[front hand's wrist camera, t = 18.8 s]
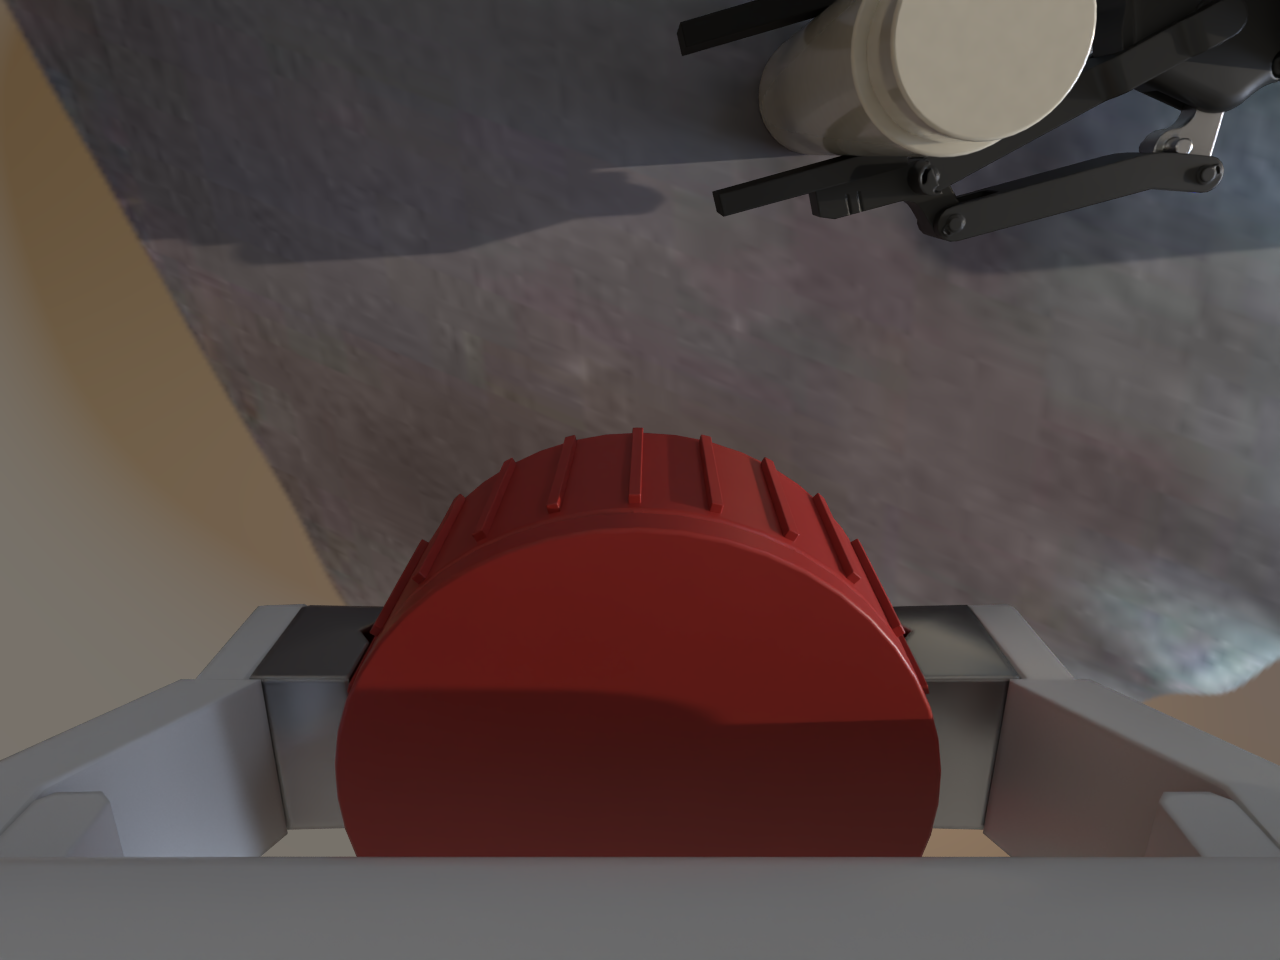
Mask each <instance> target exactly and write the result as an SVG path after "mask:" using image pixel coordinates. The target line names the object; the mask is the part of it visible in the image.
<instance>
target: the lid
mask: <svg viewBox="0 0 1280 960" xmlns="http://www.w3.org/2000/svg"><path fill="white" fill-rule="evenodd" d="M370 634H372V635H374V636H375V637H374V639H373V641H372V643H371V644H370V646H369V648H368V650H367V652H366V654H365V655H364V657H363V659H362V661H361V663H360V665H359V666H358V668H357V670H356V672H355V674H354V675H353V677H352V679H351V681H350V683H349V685H348V690H347V692H348V693H349V694H348V696H347V699H346V701H345V705H344V709H343V713H342V717H341V720H340V724H339V728H338V732H337V744H336V755H335V773H336V786H337V798H338V802H339V806H340V810H341V814H342V818H343V822H344V826H345V830H346V832H347V834H348V837H349V839H350V842H351V844H352V846H353V849H354V851H355V854H356V856H357V857H922V855H923V852H924V850H925V848H926V845H927V843H928V841H929V838H930V836H931V832H932V828H933V824H934V820H935V816H936V812H937V808H938V804H939V793H940V781H941V761H940V749H939V738H938V734H937V731H936V727H935V723H934V719H933V715H932V711H931V707H930V705H929V702H928V700H927V698H926V694H929V689H928V685H927V683H926V681H925V679H924V677H923V675H922V673H921V671H920V669H919V667H918V665H917V663H916V660H915V658H914V656H913V654H912V652H911V650H910V648H909V646H908V644H907V642H906V640H905V638H904V636H903V634H905V631H904V629H903V627H902V625H901V623H900V621H899V619H898V617H897V615H896V613H895V611H894V609H893V607H892V605H891V603H890V601H889V599H888V597H887V595H886V593H885V591H884V589H883V587H882V585H881V583H880V581H879V579H878V577H877V575H876V573H875V571H874V569H873V567H872V565H871V563H870V561H869V559H868V557H867V555H866V553H865V551H864V549H863V547H862V545H861V543H860V542H859V540H858V539H856V540H854V541H852V542H850V540H849V539H848V537H847V535H846V534H845V532H844V531H843V529H842V528H841V527H840V525H839V524H838V523H837V522H836V521H835V520H834V518H833V516H832V514H831V512H830V510H829V508H828V506H827V503H826V501H825V499H824V498H823V497H822V496H821V495H820V494H819V493H817V494H816V495H815V496H814V497H812V496H811V495H810V494H809V493H807V492H806V491H805V490H804V489H803V488H802V487H801V486H799V485H798V484H797V483H795V482H794V481H792V480H791V479H789V478H788V477H786V476H785V475H783V474H782V473H780V472H778V471H777V470H776V469H775V466H774V463H773V461H771V460H770V459H768V458H766V457H764V459H763V460H762V462H760V461H758V460H756V459H754V458H752V457H750V456H748V455H746V454H744V453H742V452H739V451H736V450H733V449H730V448H727V447H724V446H721V445H718V444H714V443H712V441H711V437H709V436H705V435H701V437H700V440H698V439H693V438H688V437H682V436H677V435H667V434H652V433H643V428H633V431H632V433H627V434H609V435H602V436H596V437H591V438H585V439H580V440H576V437H575V435H572V436H568V437H565V440H564V444H561V445H558V446H555V447H551V448H548V449H545V450H542V451H539V452H537V453H535V454H533V455H531V456H529V457H526V458H524V459H522V460H520V461H518V462H516V463H515V461H514V460H513V458H511V459H509V460H507V461H505V462H504V463H503V466H502V468H501V470H500V472H499V473H497V474H496V475H494V476H493V477H491V478H489V479H488V480H486V481H485V482H483V483H482V484H481V485H480V486H479V487H477V488H476V489H475V490H474V491H473V492H472V493H470V494H469V495H468V496H467V497H466V498H465V497H464V496H462V495H461V494H459V495H458V496H457V497H456V498H455V499H454V500H453V502H452V504H451V506H450V508H449V510H448V511H447V513H446V515H445V517H444V519H443V521H442V523H441V524H440V526H439V528H438V529H437V531H436V532H435V534H434V535H433V537H432V539H431V540H430V542H429V543H428V542H426V541H425V540H421V542H420V543H419V545H418V547H417V549H416V550H415V552H414V554H413V556H412V557H411V559H410V561H409V563H408V565H407V566H406V568H405V570H404V572H403V573H402V575H401V577H400V579H399V581H398V582H397V584H396V586H395V588H394V589H393V591H392V593H391V595H390V597H389V598H388V600H387V602H386V604H385V605H384V607H383V609H382V611H381V613H380V614H379V616H378V618H377V620H376V621H375V623H374V625H373V627H372V629H371V630H370Z"/></svg>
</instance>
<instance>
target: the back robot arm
mask: <svg viewBox="0 0 1280 960" xmlns="http://www.w3.org/2000/svg"><path fill="white" fill-rule="evenodd" d="M835 1H836V0H755V1H752V2H748V3H745V4H742V5H738V6H735V7H731V8H728V9H725V10H721V11H718V12H714V13H711V14H708V15H704V16H701V17H697V18H694V19H691V20H687V21H684V22H680V25H679V29H678V32H677V36H678V40H679V45H680V49H681V54H682V56H684V55H687V54H691V53H694V52H698V51H701V50H704V49H708V48H711V47H715V46H718V45H722V44H725V43H729V42H732V41H735V40H739V39H742V38H746V37H749V36H753V35H756V34H759V33H763V32H766V31H770V30H773V29H777V28H780V27H784V26H787V25H790V24H794V23H797V22H801V21H804V20H808V19H811V18H814V17H816V16H818V15H819V14H820V13H821V12H823V11H824V10H825V9H826V8H828V7H829V6H830V5H831V4H833V3H834V2H835ZM1096 5H1097V11H1096V27H1095V34H1094V39H1093V43H1092V47H1093V53H1092V54H1090V55H1089V56H1088V59H1087V61H1086V64H1085V66H1084V68H1083V70H1082V72H1081V74H1080V76H1079V78H1078V80H1077V81H1076V83H1075V84H1074V86H1073V87H1072V89H1071V90H1070V92H1069V93H1068V94H1067V95H1066V97H1065V98H1064V99H1063V100H1062V102H1061V103H1060V104H1059V105H1058V106H1057V107H1056V108H1055V109H1054V110H1053V111H1052V112H1051V113H1050V114H1048V115H1047V116H1046V117H1044V118H1043V119H1042V120H1041V121H1039V122H1038V123H1036V124H1035V125H1033V126H1031V127H1030V128H1028V129H1026V130H1024V131H1022V132H1020V133H1018V134H1015V135H1013V136H1010V137H1006V138H1003V139H1001V140H1000V141H998V142H997V143H995V144H993V145H991V146H989V147H987V148H985V149H982V150H980V151H977V152H974V153H971V154H967V155H962V156H956V157H908V158H907V157H894V156H844V155H843V156H839V157H836V158H832V159H829V160H825V161H821V162H818V163H814V164H810V165H807V166H803V167H800V168H796V169H792V170H789V171H785V172H782V173H778V174H774V175H771V176H767V177H764V178H760V179H756V180H753V181H749V182H745V183H742V184H738V185H735V186H731V187H727V188H724V189H720V190H717V191H713V197H714V201H715V206H716V210H717V212H718V213H719V214H721V215H722V216H723V217H724V216H728V215H731V214H735V213H739V212H742V211H746V210H749V209H753V208H757V207H760V206H764V205H768V204H771V203H775V202H779V201H782V200H786V199H790V198H793V197H797V196H801V195H804V194H808V193H809V198H810V203H811V209H812V214H813V215H815V216H818V217H823V218H831V219H837V218H841V217H844V216H848V215H851V214H855V213H859V212H862V211H866V210H870V209H874V208H878V207H881V206H885V205H889V204H892V203H896V202H900V201H904V202H905V203H907V204H908V205H909V207H910V208H911V209H912V211H913V213H914V215H915V217H916V218H917V225H918V227H919V230H920V231H921V232H922V233H923V234H926V235H929V236H932V237H936V238H939V239H943V240H947V241H950V242H951V241H959V240H963V239H967V238H970V237H974V236H978V235H982V234H985V233H989V232H993V231H996V230H1000V229H1004V228H1008V227H1011V226H1015V225H1019V224H1023V223H1026V222H1030V221H1034V220H1037V219H1041V218H1045V217H1049V216H1052V215H1056V214H1060V213H1064V212H1067V211H1071V210H1075V209H1078V208H1082V207H1086V206H1090V205H1093V204H1097V203H1101V202H1105V201H1108V200H1112V199H1116V198H1119V197H1123V196H1127V195H1131V194H1134V193H1138V192H1142V191H1146V190H1149V189H1156V190H1168V191H1183V192H1198V193H1202V192H1208V191H1210V190H1212V189H1214V188H1215V187H1216V186H1217V185H1218V184H1219V183H1220V181H1221V179H1222V177H1223V171H1224V168H1223V165H1222V162H1221V161H1220V160H1219V159H1218V158H1216V157H1213V156H1211V155H1212V152H1213V148H1214V145H1215V141H1216V138H1217V135H1218V131H1219V128H1220V125H1221V121H1222V118H1223V115H1224V112H1226V111H1229V110H1231V109H1233V108H1235V107H1237V106H1238V105H1240V104H1241V103H1243V102H1244V101H1245V100H1246V99H1247V98H1248V97H1249V96H1251V95H1252V94H1253V93H1254V92H1256V91H1257V90H1259V89H1260V88H1262V87H1264V86H1266V85H1268V84H1270V83H1273V82H1277V81H1280V0H1096ZM1133 89H1135V90H1137V91H1139V92H1141V93H1143V94H1146V95H1148V96H1150V97H1152V98H1154V99H1157V100H1159V101H1161V102H1163V103H1165V104H1168V105H1170V106H1172V107H1174V108H1176V109H1178V110H1181V113H1180V116H1179V118H1178V119H1177V121H1176V122H1175V123H1174V124H1173V125H1171V126H1170V127H1168V128H1166V129H1161V130H1156V131H1154V132H1152V133H1150V134H1149V135H1148V136H1147V137H1146V138H1145V140H1144V141H1143V142H1142V143H1141V144H1140V146H1139V152H1140V153H1118V154H1111V155H1107V156H1102V157H1098V158H1095V159H1091V160H1087V161H1084V162H1080V163H1076V164H1073V165H1069V166H1065V167H1062V168H1058V169H1054V170H1051V171H1047V172H1043V173H1040V174H1036V175H1032V176H1029V177H1025V178H1021V179H1018V180H1014V181H1010V182H1007V183H1003V184H999V185H996V186H992V187H988V188H985V189H981V190H977V191H974V192H970V193H966V194H963V195H959V196H955V194H954V192H953V190H952V188H951V186H950V185H951V184H953V183H955V182H957V181H959V180H961V179H963V178H964V177H966V176H968V175H970V174H972V173H974V172H975V171H977V170H979V169H981V168H983V167H985V166H987V165H988V164H990V163H992V162H994V161H996V160H998V159H999V158H1001V157H1003V156H1005V155H1007V154H1009V153H1010V152H1012V151H1014V150H1016V149H1018V148H1020V147H1022V146H1023V145H1025V144H1027V143H1029V142H1031V141H1033V140H1034V139H1036V138H1038V137H1040V136H1042V135H1044V134H1045V133H1047V132H1049V131H1051V130H1053V129H1055V128H1057V127H1058V126H1060V125H1062V124H1064V123H1066V122H1068V121H1069V120H1071V119H1073V118H1075V117H1077V116H1079V115H1080V114H1082V113H1084V112H1086V111H1088V110H1090V109H1092V108H1093V107H1095V106H1097V105H1099V104H1101V103H1103V102H1105V101H1107V100H1109V99H1112V98H1115V97H1118V96H1120V95H1122V94H1125V93H1127V92H1129V91H1131V90H1133Z"/></svg>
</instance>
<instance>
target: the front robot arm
mask: <svg viewBox="0 0 1280 960" xmlns="http://www.w3.org/2000/svg"><path fill="white" fill-rule="evenodd" d="M382 609H383V607H379V606H325V605H310V606H307V605H305V604H293V605H266V606H258V607H257V608H256V609H255V610H254V612H253V613H252V614H251V615H250V616H249V618H248V619H247V620H246V621H245V622H244V623H243V624H242V626H241V627H240V628H239V629H238V630H237V631H236V633H235V634H234V635H233V636H232V637H231V638H230V640H229V641H228V642H227V643H226V644H225V645H224V647H223V648H222V649H221V650H220V651H219V652H218V653H217V655H216V656H215V657H214V658H213V659H212V660H211V662H210V663H209V664H208V665H207V666H206V667H205V669H204V670H203V671H202V672H201V673H200V674H199V675H198V677H197V678H196V679H181V680H178V681H176V682H174V683H172V684H169V685H167V686H165V687H163V688H160V689H158V690H156V691H154V692H152V693H149V694H147V695H145V696H143V697H140V698H138V699H136V700H134V701H131V702H129V703H127V704H125V705H123V706H120V707H118V708H116V709H114V710H112V711H109V712H107V713H105V714H103V715H100V716H98V717H96V718H94V719H92V720H89V721H87V722H85V723H83V724H80V725H78V726H76V727H74V728H71V729H69V730H67V731H65V732H62V733H60V734H58V735H56V736H54V737H51V738H49V739H47V740H45V741H42V742H40V743H38V744H36V745H34V746H31V747H29V748H27V749H25V750H23V751H20V752H18V753H16V754H14V755H11V756H9V757H7V758H5V759H2V760H0V960H1280V766H1279V765H1276V764H1274V763H1272V762H1270V761H1268V760H1265V759H1263V758H1261V757H1259V756H1257V755H1254V754H1252V753H1250V752H1248V751H1246V750H1243V749H1241V748H1239V747H1237V746H1234V745H1232V744H1230V743H1228V742H1226V741H1224V740H1221V739H1219V738H1217V737H1215V736H1213V735H1210V734H1208V733H1206V732H1204V731H1202V730H1199V729H1197V728H1195V727H1193V726H1191V725H1189V724H1186V723H1184V722H1182V721H1180V720H1178V719H1175V718H1173V717H1171V716H1169V715H1166V714H1164V713H1162V712H1160V711H1158V710H1156V709H1153V708H1151V707H1149V706H1147V705H1145V704H1142V703H1140V702H1138V701H1136V700H1134V699H1131V698H1129V697H1127V696H1125V695H1123V694H1120V693H1118V692H1116V691H1114V690H1112V689H1109V688H1107V687H1105V686H1103V685H1101V684H1098V683H1096V682H1094V681H1092V680H1090V679H1074V678H1073V676H1072V675H1071V674H1070V673H1069V672H1068V670H1067V669H1066V668H1065V667H1064V666H1063V665H1062V663H1061V662H1060V661H1059V660H1058V659H1057V657H1056V656H1055V655H1054V654H1053V653H1052V652H1051V650H1050V649H1049V648H1048V647H1047V646H1046V644H1045V643H1044V642H1043V641H1042V640H1041V638H1040V637H1039V636H1038V635H1037V634H1036V633H1035V631H1034V630H1033V629H1032V628H1031V627H1030V625H1029V624H1028V623H1027V622H1026V621H1025V620H1024V618H1023V617H1022V616H1021V615H1020V614H1019V612H1018V611H1017V610H1016V609H1015V608H1014V607H1012V606H1009V605H1007V604H995V605H973V606H968V605H942V606H900V607H893V609H894V611H895V613H896V615H897V617H898V619H899V621H900V623H901V625H902V627H903V629H904V631H905V634H903V636H904V638H905V640H906V642H907V644H908V646H909V648H910V650H911V652H912V654H913V656H914V658H915V660H916V663H917V665H918V667H919V669H920V671H921V673H922V675H923V677H924V679H925V681H926V683H927V685H928V689H929V694H926V698H927V700H928V702H929V705H930V707H931V711H932V715H933V719H934V723H935V727H936V731H937V734H938V738H939V749H940V761H941V781H940V793H939V804H938V808H937V812H936V816H935V820H934V824H933V828H943V829H980V830H983V833H984V834H985V835H986V836H987V837H988V838H989V839H991V840H992V841H993V842H994V843H995V844H996V845H998V846H999V847H1000V848H1001V849H1002V850H1004V851H1005V852H1006V853H1007V854H1008V855H1009V856H1011V857H260V856H262V855H263V854H264V853H265V852H266V851H268V850H269V849H270V848H271V847H272V846H274V845H275V844H276V843H277V842H278V841H279V840H281V839H282V838H283V837H284V836H285V835H287V830H290V829H326V828H345V826H344V822H343V818H342V814H341V810H340V806H339V802H338V798H337V786H336V773H335V755H336V744H337V732H338V728H339V724H340V720H341V717H342V713H343V709H344V705H345V701H346V699H347V696H348V694H349V693H348V692H347V690H348V685H349V683H350V681H351V679H352V677H353V675H354V674H355V672H356V670H357V668H358V666H359V665H360V663H361V661H362V659H363V657H364V655H365V654H366V652H367V650H368V648H369V646H370V644H371V643H372V641H373V639H374V637H375V636H374V635H372V634H370V630H371V629H372V627H373V625H374V623H375V621H376V620H377V618H378V616H379V614H380V613H381V611H382Z"/></svg>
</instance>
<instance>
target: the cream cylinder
mask: <svg viewBox="0 0 1280 960" xmlns="http://www.w3.org/2000/svg"><path fill="white" fill-rule="evenodd" d="M1096 11H1097V5H1096V0H836V1H835V2H834V3H833V4H831V5H830V6H829V7H828V8H826V9H825V10H824V11H823V12H821V13H820V14H819V15H818V16H816V17H815V18H814V19H813V20H811V21H810V22H809V23H808V24H806V25H805V26H804V27H803V28H801V29H800V30H799V31H798V32H796V33H795V34H794V35H793V36H792V37H790V38H789V39H788V40H787V41H785V42H784V43H783V44H782V45H781V46H780V47H779V48H778V49H777V50H776V51H775V52H774V53H773V55H772V56H771V58H770V59H769V61H768V62H767V64H766V66H765V68H764V71H763V74H762V77H761V81H760V86H759V108H760V112H761V116H762V119H763V121H764V124H765V126H766V127H767V129H768V131H769V132H770V134H771V135H772V136H773V137H774V138H775V139H776V140H777V141H778V142H779V143H780V144H781V145H783V146H784V147H786V148H788V149H789V150H792V151H794V152H797V153H801V154H807V155H844V156H894V157H956V156H962V155H967V154H971V153H974V152H977V151H980V150H982V149H985V148H987V147H989V146H991V145H993V144H995V143H997V142H998V141H1000V140H1001V139H1003V138H1006V137H1010V136H1013V135H1015V134H1018V133H1020V132H1022V131H1024V130H1026V129H1028V128H1030V127H1031V126H1033V125H1035V124H1036V123H1038V122H1039V121H1041V120H1042V119H1043V118H1044V117H1046V116H1047V115H1048V114H1050V113H1051V112H1052V111H1053V110H1054V109H1055V108H1056V107H1057V106H1058V105H1059V104H1060V103H1061V102H1062V100H1063V99H1064V98H1065V97H1066V95H1067V94H1068V93H1069V92H1070V90H1071V89H1072V87H1073V86H1074V84H1075V83H1076V81H1077V80H1078V78H1079V76H1080V74H1081V72H1082V70H1083V68H1084V66H1085V64H1086V61H1087V59H1088V56H1089V53H1090V51H1091V47H1092V43H1093V39H1094V34H1095V27H1096Z"/></svg>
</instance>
